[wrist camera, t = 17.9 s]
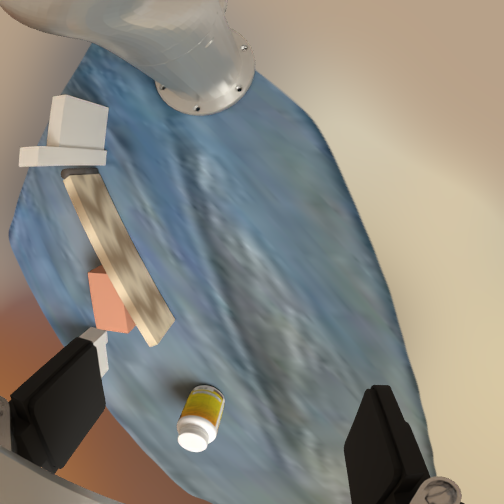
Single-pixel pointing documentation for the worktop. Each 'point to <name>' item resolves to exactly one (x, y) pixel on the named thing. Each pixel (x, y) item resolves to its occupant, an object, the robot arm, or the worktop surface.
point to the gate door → (117, 253)
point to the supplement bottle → (200, 418)
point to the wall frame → (74, 161)
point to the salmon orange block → (108, 303)
